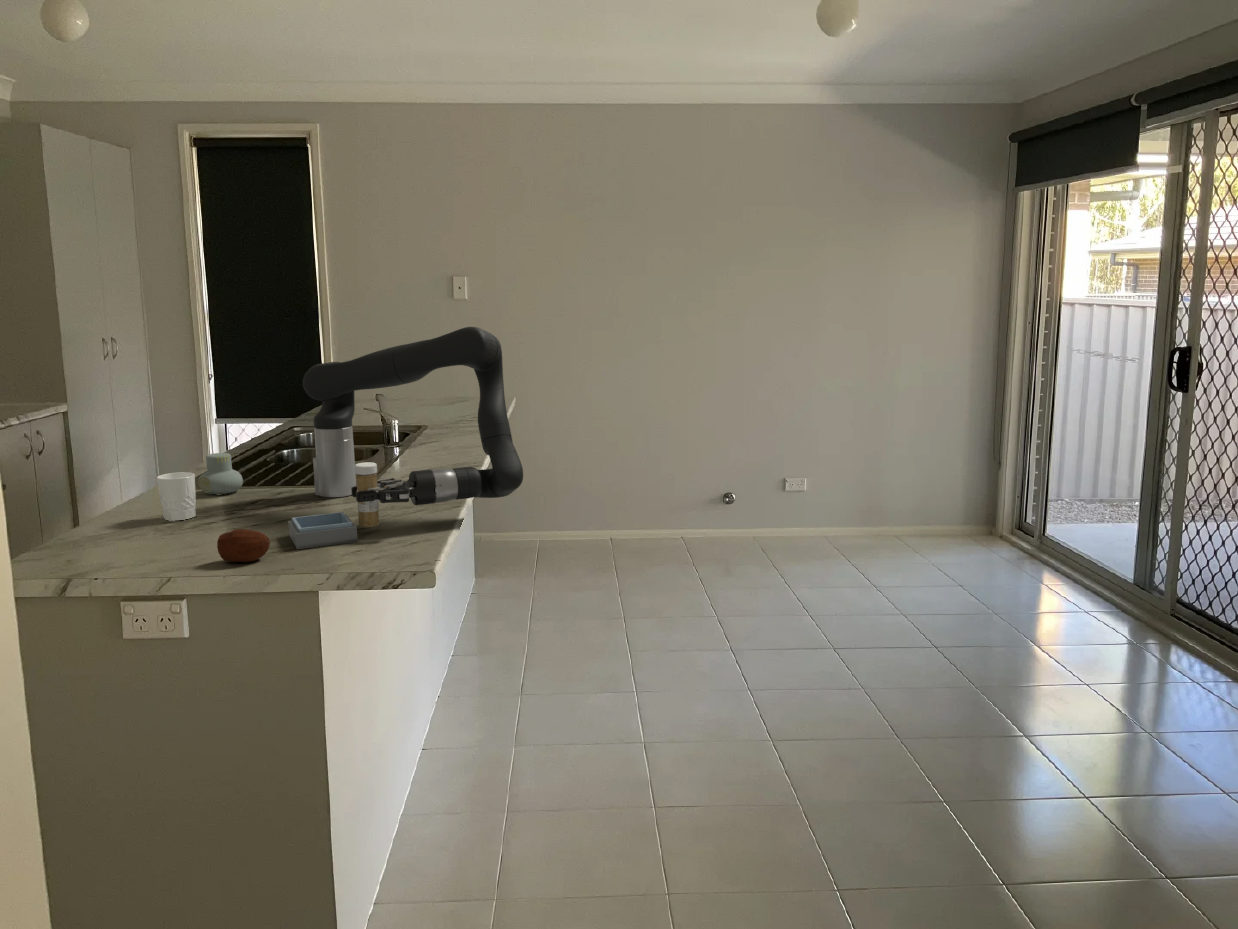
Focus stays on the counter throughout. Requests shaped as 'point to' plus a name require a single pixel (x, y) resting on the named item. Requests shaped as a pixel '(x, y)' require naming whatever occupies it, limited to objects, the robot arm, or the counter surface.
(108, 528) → the counter surface
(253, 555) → the potato
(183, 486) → the white cup
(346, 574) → the counter surface
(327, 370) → the robot arm
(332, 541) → the blue square tray
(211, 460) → the air freshener
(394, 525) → the counter surface
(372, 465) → the sprinkles bottle
